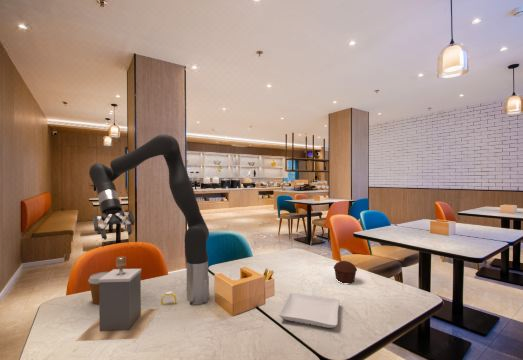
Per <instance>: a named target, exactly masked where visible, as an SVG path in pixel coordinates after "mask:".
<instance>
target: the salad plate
mask: <svg viewBox="0 0 523 360" xmlns="http://www.w3.org/2000/svg"><path fill="white" fill-rule="evenodd" d="M340 302H341V301H340V299H337V298H330V297H323V296H319V295H311V294H304V293H297V292H290V293H289V294H288V297H287V298H286V300H285V302H284V304H283V305H282V307H281V309H280V311H279V312H278V316H279V317H280V318H281V319H283V320H286V321H290V322H293V321H295V322H294V323H298V322H300V323H299V324H303V323H305V324H304V325H309V324H311V325H310V326H315V325H316V326H317V327H321V326H322V327H323V328H328V329H329V328H330V329H331V328H332V329H333V328H335V327H337V326H338V322H339V308H340ZM316 326H315V327H316Z"/></svg>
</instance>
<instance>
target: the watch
mask: <svg viewBox="0 0 523 360" xmlns="http://www.w3.org/2000/svg"><path fill="white" fill-rule="evenodd" d="M166 296H173V299H174V303H173V305H176V302H177V295H176V294H175V293H173V291H171V290H169V291H166V292H165V293H164V294H163V295H162V297H161V299H160V302H161V303H160V304H161V305H162V306H164V305H165V303H164V301H163V299H164V297H166Z"/></svg>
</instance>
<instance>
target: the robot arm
mask: <svg viewBox="0 0 523 360" xmlns="http://www.w3.org/2000/svg"><path fill="white" fill-rule="evenodd" d="M179 144H180V143H179V142H178V140H177V139H176V138H175V137H173V136H172V135H170V134H169V135H168V134H166V133H160V134H158V135H156V136H155V137H152V138H151V139H149V141H147V142H146V143H144V144H142V145H141V146H139V147H137V148H135V149H134V150H132V151H130V152H128V153H125V154H123V155H121V156H119V157H116V158H114V159H113V160H111V161H110V168H109V167H108V166H106V165H105V164H104V163H100V162H95V163H94V164H92V165H90V167H89V172H88V174H89V178H90V180H91V182H92V183H93V186H94V187H95V188H96V192H97V197H98V198H97V199H98V205H99V208H100V213H101V215H99V216H98V215H93V221H92V222H93V230H94V231H93V232H95V233H96V232H99V233H100V236H101V239H102V240H104V241H106V240H107V239H108V238H107V233H106V228H108V226H113V225H119V224H120V225H123V226H125V227H126V232H127V235H128V236H131V234H132V232H133V227H132V226H134V225H135V222H136V219H135V217H134V215H133V212H132V210H128V211H127V212H124V211H123V208H122V204H121V200H120V197H119V194H118V192H117V188H116V185H115V183H114V181H115V180H116V179H118V178H119V177H121V176H122V174H124V173H126V172H129V171H131V170H134V169H135V168H137V167H138V166H139V165H141V164H143V163H144V162H145V161H147V160H149V159H151V158H155V157H158V156H163V158H164V161H165V163H166V165H167V169H168V184H169V185H168V186H169V190H170V192H171V194H172V198H173V200H174V203H175V204H176V205H177V207H178V209H179V210H180V211H181V213H182V214H183V216H184V218H185V221H186V224H187V227H188V228H187V229H186V230H185V233H184V257H185V258H186V259H185V260H186V301H187V302H189V304H190V305H193V306H194V305H195V306H196V305H200V304H201V305H202V304H207V303H208V301H209V297H210V287H209V286H210V276H209V255H208V252H207V240H208V239H209V236H210V231H209V230H210V229H209V227H208V225H207V224H206V221H205V219H204V218H203V215H202V213H201V210H200V207H199V204H198V199H197V196H196V194H195V190H194V187H193V184H192V182H191V179H190V178H189V174H188V171H187V169H186V167H185V164H184V160H183V157H182V153H181V149H180V145H179ZM127 218H128V219H127ZM100 220H101V221H103V223H102V224H101V226H99V222H100Z"/></svg>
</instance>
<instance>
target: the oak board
mask: <svg viewBox="0 0 523 360" xmlns="http://www.w3.org/2000/svg"><path fill="white" fill-rule="evenodd" d="M158 310H159V308H145V309H143V308H141V316H140V317H139V319H138V320H137V321H136V322H135V324H134V325H133V326H132V328H131V329H130V330H125V331H100V317H99V318H97V319H96V320H95V321H94V322H93V323H92V324H91V325H90V326H89V327H88V328H87V329H86V330H85V331H84V332H83V333H82V334H81V335H80V336H79V337H77V338H76V339H75V342H81V341H106V340H107V341H108V340H109V341H110V340H111V341H112V340H131V339H132V340H138V339H139V338H140V337H141V335H142V334H143V332H144V331H145V330H146V328H147V326H148V324H150V322H151V321H152V319H153V318H154V316H155V314H156V313H157V312H158Z"/></svg>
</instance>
